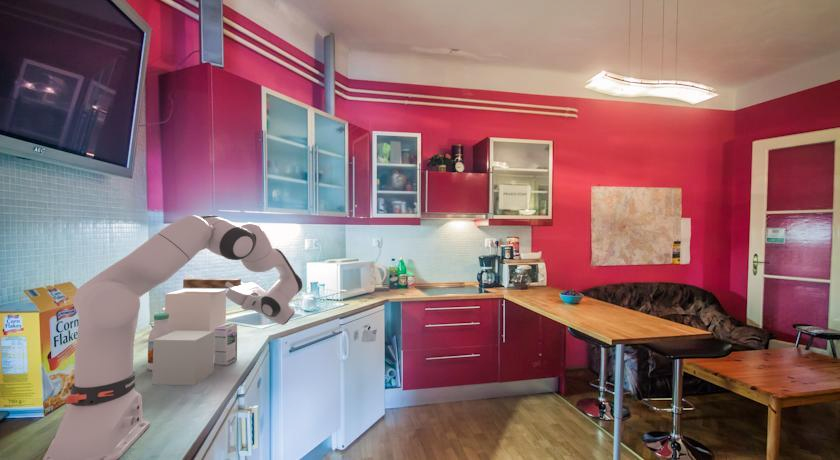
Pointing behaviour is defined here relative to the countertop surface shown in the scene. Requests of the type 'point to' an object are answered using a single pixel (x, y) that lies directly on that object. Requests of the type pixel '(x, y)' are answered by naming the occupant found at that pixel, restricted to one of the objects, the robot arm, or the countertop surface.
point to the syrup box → (225, 344)
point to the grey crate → (183, 357)
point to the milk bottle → (157, 334)
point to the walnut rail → (209, 283)
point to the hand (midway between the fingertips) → (229, 282)
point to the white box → (196, 309)
